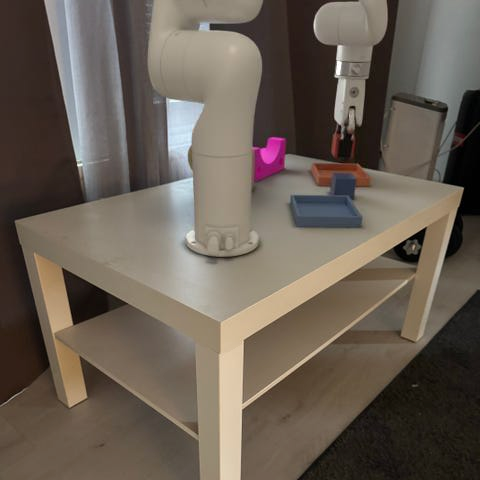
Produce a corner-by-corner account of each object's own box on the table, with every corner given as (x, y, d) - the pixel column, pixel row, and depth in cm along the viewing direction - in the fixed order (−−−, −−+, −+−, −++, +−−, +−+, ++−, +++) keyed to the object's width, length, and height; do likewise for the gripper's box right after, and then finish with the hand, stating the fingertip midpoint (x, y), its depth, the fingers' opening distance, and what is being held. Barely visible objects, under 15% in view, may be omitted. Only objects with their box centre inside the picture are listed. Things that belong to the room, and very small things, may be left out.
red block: (353, 157, 115) (355, 138, 113) (334, 157, 115) (336, 137, 113) (349, 153, 119) (351, 134, 117) (331, 152, 119) (333, 133, 117)
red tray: (369, 186, 115) (370, 177, 113) (318, 185, 114) (319, 177, 113) (357, 171, 126) (358, 163, 125) (310, 170, 126) (311, 162, 124)
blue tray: (360, 227, 91) (362, 217, 90) (296, 226, 91) (297, 216, 90) (347, 204, 103) (348, 195, 102) (290, 203, 102) (290, 194, 101)
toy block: (263, 165, 130) (264, 135, 126) (284, 168, 127) (286, 138, 123) (233, 177, 119) (233, 146, 115) (254, 181, 116) (255, 149, 112)
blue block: (353, 199, 106) (356, 178, 103) (333, 199, 106) (335, 178, 103) (349, 193, 110) (352, 173, 107) (329, 192, 110) (332, 172, 107)
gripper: (378, 74, 100) (365, 163, 110) (360, 67, 115) (350, 146, 124) (342, 74, 100) (332, 163, 110) (329, 66, 115) (321, 146, 124)
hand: (341, 153), depth 117 cm, fingers closed on red block, 4 cm apart
